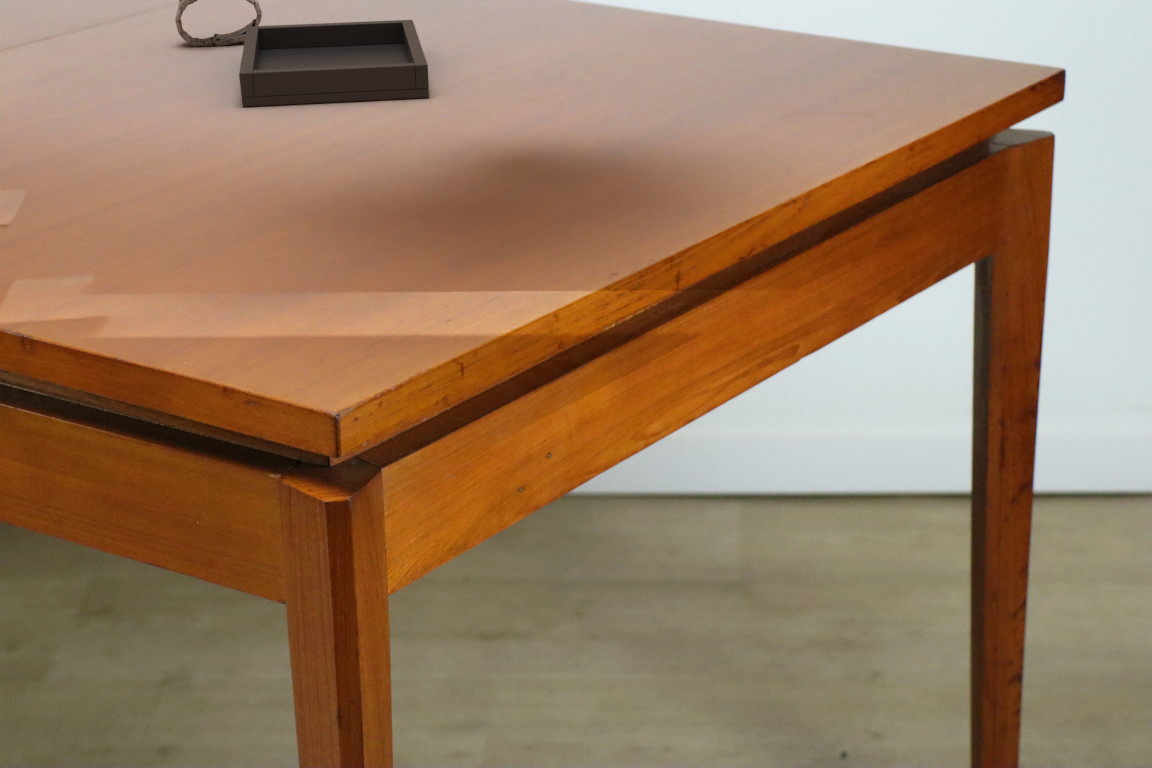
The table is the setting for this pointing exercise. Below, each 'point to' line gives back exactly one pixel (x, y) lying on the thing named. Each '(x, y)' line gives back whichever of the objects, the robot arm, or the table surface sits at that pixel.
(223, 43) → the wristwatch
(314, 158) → the table surface
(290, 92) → the dark rectangular tray
